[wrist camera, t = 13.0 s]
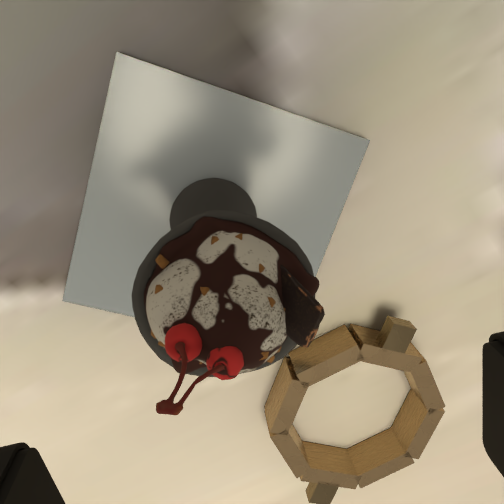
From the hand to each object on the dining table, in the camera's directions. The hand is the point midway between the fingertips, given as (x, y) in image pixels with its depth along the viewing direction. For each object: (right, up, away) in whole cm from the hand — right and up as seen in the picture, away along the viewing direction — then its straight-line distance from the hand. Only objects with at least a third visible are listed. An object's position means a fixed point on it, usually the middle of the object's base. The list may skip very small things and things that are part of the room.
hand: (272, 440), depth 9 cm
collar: (+6, -6, +23) cm, 25 cm away
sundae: (-3, +6, +17) cm, 18 cm away
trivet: (-3, +6, +17) cm, 18 cm away
